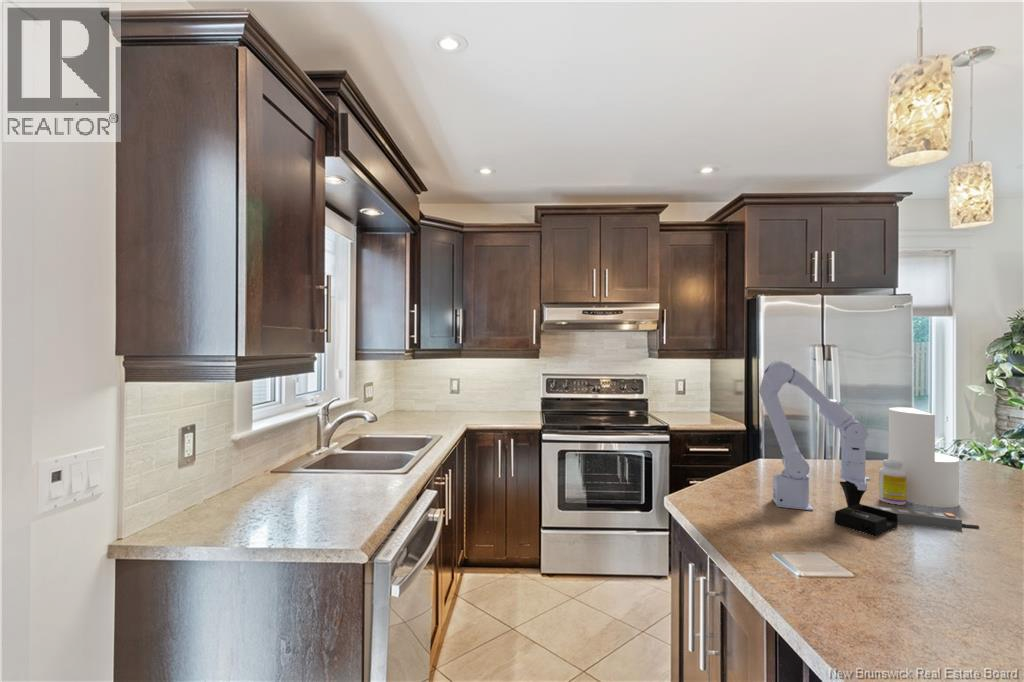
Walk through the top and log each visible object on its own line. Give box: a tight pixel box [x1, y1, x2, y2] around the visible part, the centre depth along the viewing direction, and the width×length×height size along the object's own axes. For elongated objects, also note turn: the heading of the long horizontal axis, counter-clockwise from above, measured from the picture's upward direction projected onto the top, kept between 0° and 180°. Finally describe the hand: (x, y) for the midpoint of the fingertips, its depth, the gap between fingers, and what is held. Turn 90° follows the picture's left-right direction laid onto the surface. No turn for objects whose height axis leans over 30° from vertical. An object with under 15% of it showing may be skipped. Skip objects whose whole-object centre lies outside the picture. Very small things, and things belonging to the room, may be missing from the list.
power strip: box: [865, 504, 980, 530], centre depth 131 cm, size 25×5×3 cm, turn 72°
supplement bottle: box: [878, 458, 907, 506], centre depth 148 cm, size 7×7×13 cm
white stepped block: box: [887, 407, 960, 508], centre depth 152 cm, size 17×17×28 cm
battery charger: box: [834, 503, 899, 537], centre depth 129 cm, size 13×10×4 cm
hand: (852, 508), depth 138 cm, fingers closed
